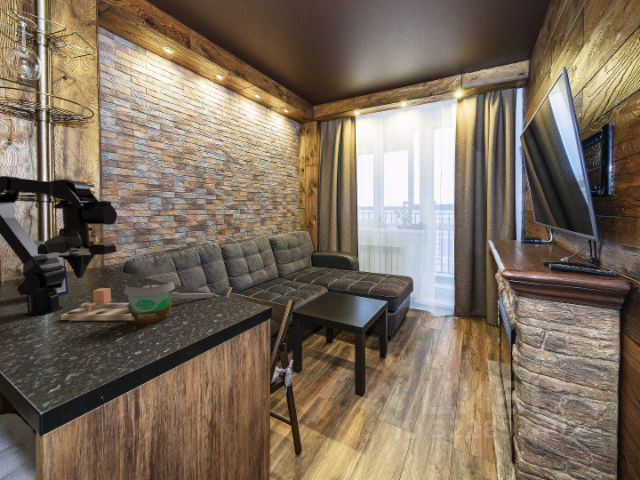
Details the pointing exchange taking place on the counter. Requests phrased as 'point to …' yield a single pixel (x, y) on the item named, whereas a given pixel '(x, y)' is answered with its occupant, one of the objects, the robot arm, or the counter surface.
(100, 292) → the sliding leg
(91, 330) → the counter surface
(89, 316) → the hole plate
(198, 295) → the caliper
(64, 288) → the milk carton
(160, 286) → the food container
